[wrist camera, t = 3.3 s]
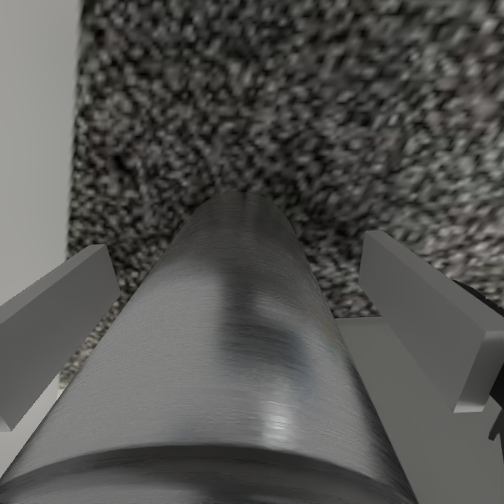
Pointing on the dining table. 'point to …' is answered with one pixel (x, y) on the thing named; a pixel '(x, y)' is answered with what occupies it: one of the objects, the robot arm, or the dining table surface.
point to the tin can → (216, 386)
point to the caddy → (426, 421)
